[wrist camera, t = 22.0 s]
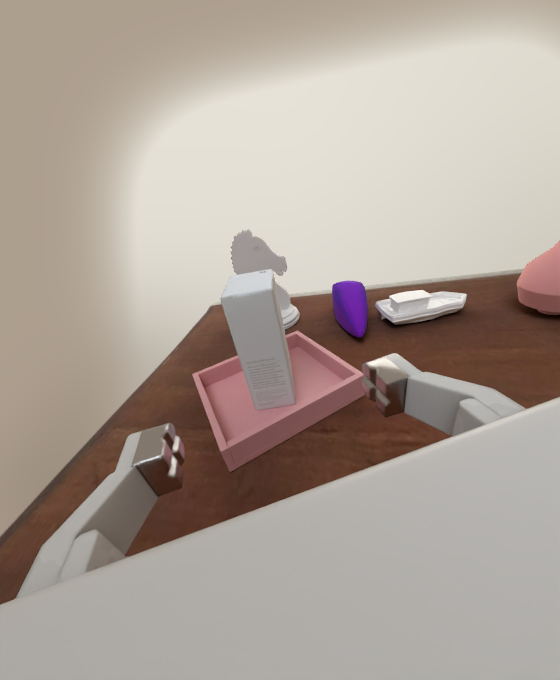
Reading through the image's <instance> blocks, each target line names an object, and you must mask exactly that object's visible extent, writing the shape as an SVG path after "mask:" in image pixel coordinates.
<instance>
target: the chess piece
mask: <svg viewBox="0 0 560 680" xmlns="http://www.w3.org/2000/svg"><path fill="white" fill-rule="evenodd" d="M232 244H233V245H232V246H231V248H232V251H231V254H232V257H231V259H232V261H233V262H232V264H233V268H234V272H235V273H237V275H240V274H245V273H251V272H257V271H262V270H268V269H272V270H273V271H275V272H276V273H277V274H278V275H279V276H281V275H283V272H282V271H284V272H286V270H287V265H286V261H285V257H284V256H279V255H277V254H275V253H274V252H273V251H272V250H271V248H270V247H269V246H268V245H267V243H266V242H265V241H264V240H263V239H262V238H261V237H259V236H253V235H252V232H251V231H250V230H249V229H248V230H242V232H241V233H238V234H237V236H234V241H233V242H232ZM275 283H276V288H277V294H278V299H279V304H280V310H281V315H282V320H283V325H284V330H286V329H288V328H290V327H291V326H293V325H294V324H296V323H297V321H298V320H299V317H300V316H299V312H298V310H297V308H296V307H294V306H293V305H292V304H290V297H289V294H288V292H287V291H286V289H284V288H283V287H282V286H281V285H280V284H279V283H278V282H276V281H275Z"/></svg>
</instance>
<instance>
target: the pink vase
mask: <svg viewBox="0 0 560 680" xmlns="http://www.w3.org/2000/svg"><path fill="white" fill-rule="evenodd" d="M517 290H518V299H519V302H520V303H522V304H524V305H525V306H528V307H531V308H534V309H538V311H539V312H540V313H543V314H548V315H560V241H559V242H558V243H557V244H556V245H555V246H554V247H553V248H551V249H550V250H548V251H547V252H545V253H543V254H542V255H540V256H539V257H537V258H535V259H534V260H532V261H531V262H529V263H528V264H527V265H526V267H525V268H524V270H523V272H522V274H521V276H520V277H519V279H518V281H517Z"/></svg>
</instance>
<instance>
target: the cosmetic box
mask: <svg viewBox="0 0 560 680" xmlns="http://www.w3.org/2000/svg"><path fill="white" fill-rule="evenodd" d="M220 300H221V303H222V306H223V309H224V312H225V316H226V319H227V322H228V325H229V328H230V332H231V335H232V338H233V341H234V344H235V347H236V351H237V354H238V357H239V360H240V363H241V366H242V370H243V373H244V376H245V379H246V382H247V385H248V389H249V392H250V395H251V398H252V401H253V404H254V407H255V410H263V409H269V408H276V407H282V406H289V405H294V404H296V398H295V388H294V380H293V373H292V366H291V361H290V356H289V351H288V346H287V340H286V335H285V330H284V325H283V320H282V315H281V310H280V304H279V299H278V294H277V288H276V283H275V279H274V274H273V270H272V269H268V270H262V271H257V272H251V273H245V274H240V275H235V276H231V277H230V279H229V281H228V283H227V285H226V287H225V290H224V292H223V294H222V296H221V298H220Z"/></svg>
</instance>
